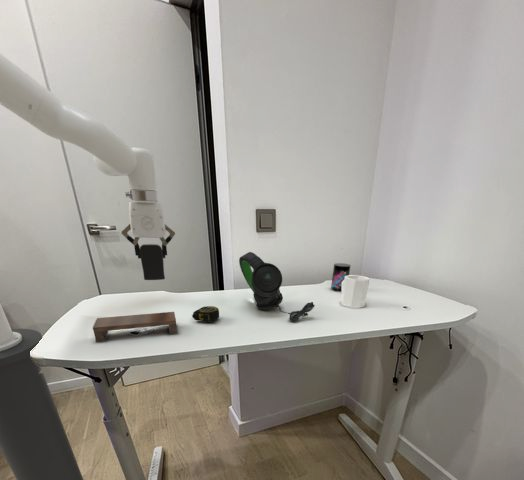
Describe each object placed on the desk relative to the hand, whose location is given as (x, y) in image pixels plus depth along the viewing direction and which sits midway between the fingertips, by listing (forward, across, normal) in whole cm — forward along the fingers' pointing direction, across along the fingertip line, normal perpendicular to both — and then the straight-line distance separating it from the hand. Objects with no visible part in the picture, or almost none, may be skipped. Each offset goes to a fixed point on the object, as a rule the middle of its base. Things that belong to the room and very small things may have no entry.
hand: (152, 257), depth 96 cm
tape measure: (+15, +14, -22) cm, 30 cm away
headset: (+15, +37, -18) cm, 43 cm away
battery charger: (+7, 0, 0) cm, 7 cm away
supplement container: (+14, +74, -1) cm, 75 cm away
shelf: (+16, -5, -26) cm, 31 cm away
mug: (+14, +68, -18) cm, 71 cm away
